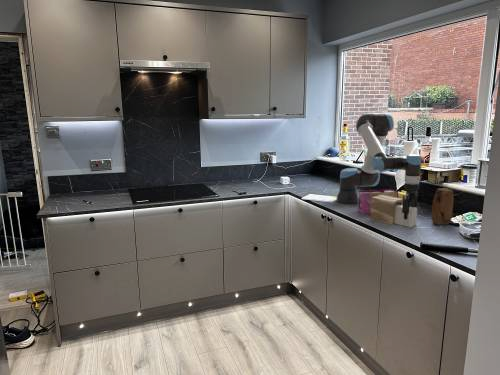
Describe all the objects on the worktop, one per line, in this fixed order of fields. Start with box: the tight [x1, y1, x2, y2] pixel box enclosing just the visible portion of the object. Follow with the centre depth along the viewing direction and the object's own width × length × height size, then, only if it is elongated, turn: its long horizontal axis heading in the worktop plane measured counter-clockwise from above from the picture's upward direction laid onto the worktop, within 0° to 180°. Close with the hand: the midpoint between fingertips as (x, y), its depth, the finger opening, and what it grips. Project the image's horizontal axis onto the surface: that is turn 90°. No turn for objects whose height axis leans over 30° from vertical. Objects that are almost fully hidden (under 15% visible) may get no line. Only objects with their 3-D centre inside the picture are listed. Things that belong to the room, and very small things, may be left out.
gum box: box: [357, 189, 399, 215], centre depth 237 cm, size 24×8×14 cm, turn 97°
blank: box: [394, 204, 418, 228], centre depth 214 cm, size 6×18×10 cm, turn 42°
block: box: [431, 187, 454, 226], centre depth 211 cm, size 11×8×20 cm
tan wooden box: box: [369, 195, 403, 225], centre depth 219 cm, size 10×14×13 cm
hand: (408, 223), depth 210 cm, fingers closed on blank, 6 cm apart
